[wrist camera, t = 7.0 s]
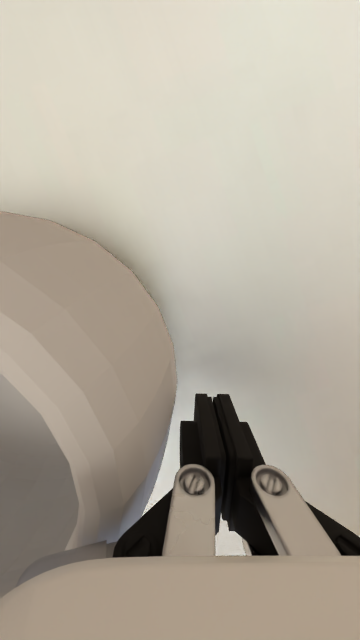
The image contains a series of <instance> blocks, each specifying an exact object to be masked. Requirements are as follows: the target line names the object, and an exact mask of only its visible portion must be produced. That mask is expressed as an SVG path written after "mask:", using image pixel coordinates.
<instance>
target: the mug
mask: <svg viewBox="0 0 360 640" xmlns="http://www.w3.org/2000/svg"><path fill="white" fill-rule="evenodd" d="M176 389H177V374H176V365H175V355H174V346H173V343H172V340H171V338H170V335H169V333H168V330H167V328H166V325H165V323H164V320H163V318H162V315H161V313H160V310H159V308H158V306H157V305H156V303H155V302H154V301H153V299H152V298H151V296H150V295H149V294H148V292H147V291H146V290H145V288H144V287H143V286H142V284H141V283H140V281H139V280H138V279H137V277H136V276H135V275H134V273H133V272H132V271H131V270H130V269H129V268H127V267H126V266H125V265H124V264H122V263H121V262H120V261H119V260H118V259H116V258H115V257H114V256H113V255H111V254H110V253H109V252H108V251H106V250H105V249H104V248H103V247H101V246H100V245H99V244H98V243H97V242H95V241H93V240H91V239H89V238H87V237H85V236H83V235H80V234H78V233H76V232H74V231H72V230H70V229H68V228H65V227H63V226H61V225H59V224H57V223H55V222H53V221H50V220H45V219H40V218H34V217H29V216H24V215H18V214H13V213H7V212H2V211H0V598H2V597H3V596H4V595H6V594H7V593H8V592H10V591H11V590H13V589H14V588H15V587H16V585H17V582H18V580H19V578H20V576H21V575H22V574H23V572H24V571H25V570H26V568H27V567H28V566H29V565H31V564H32V563H33V562H34V561H35V560H37V559H39V558H42V557H44V556H47V555H51V554H54V553H58V552H62V551H66V550H70V549H74V548H78V547H82V546H85V545H89V544H93V543H97V542H101V541H105V540H107V544H108V543H112V542H116V541H118V539H119V538H120V537H121V536H122V535H123V534H124V533H125V532H126V531H127V530H128V529H129V528H130V527H131V526H132V525H133V524H134V523H136V522H137V521H138V520H139V519H140V518H141V516H142V514H143V512H144V509H145V507H146V505H147V503H148V500H149V498H150V496H151V493H152V491H153V488H154V485H155V482H156V480H157V477H158V473H159V470H160V467H161V463H162V459H163V455H164V452H165V448H166V444H167V440H168V435H169V430H170V424H171V419H172V414H173V409H174V404H175V397H176Z"/></svg>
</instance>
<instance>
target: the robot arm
mask: <svg viewBox="0 0 360 640" xmlns="http://www.w3.org/2000/svg"><path fill="white" fill-rule="evenodd" d="M221 514H222V519H223V520H227V522H228V527H229V531H235V532H236V533H238V534H239V535H240V536H241V537H242V543H243V547H244V550H245V553H246V556H215V536H216V534H217V533H218V532H219V523H220V515H221ZM0 640H360V538H359V537H358V536H357V535H356V534H354V533H353V532H351V531H350V530H348V529H347V528H345V527H344V526H342V525H341V524H339V523H337V522H336V521H334V520H333V519H331V518H330V517H328V516H327V515H325V514H324V513H322V512H321V511H319V510H318V509H316V508H315V507H313V506H312V505H310V504H309V503H307V502H306V501H304V499H303V498H302V496H301V495H300V493H299V492H298V490H297V489H296V487H295V486H294V485H293V483H292V482H291V480H290V479H289V477H288V476H287V475H286V474H285V473H284V472H282V471H281V470H280V469H278V468H276V467H274V466H270V465H266V464H265V462H264V460H263V457H262V455H261V453H260V450H259V448H258V446H257V443H256V441H255V439H254V436H253V434H252V432H251V429H250V427H249V425H248V423H247V422H239V419H238V417H237V414H236V411H235V409H234V406H233V404H232V401H231V398H230V396H229V394H217V397H213V402H212V399H211V397H207V394H196V395H195V410H194V421H181V424H180V469H179V471H178V472H177V473H176V476H175V480H174V486H173V489H172V490H171V491H169V492H168V493H167V494H166V495H165V496H164V497H163V498H162V499H161V500H160V501H159V502H157V503H156V504H155V505H154V506H153V507H152V508H151V509H150V510H149V511H148V512H146V513H145V514H144V515H143V516H142V517H141V518H140V519H139V520H138V521H137V522H136V523H134V524H133V525H132V526H131V527H130V528H129V529H128V530H127V531H126V532H125V533H124V534H123V535H122V536H121V537H120V538H119V539H118V541H116V542H112V543H108V544H107V540H105V541H101V542H97V543H93V544H89V545H85V546H82V547H78V548H74V549H70V550H66V551H62V552H58V553H54V554H51V555H47V556H44V557H42V558H39V559H37V560H35V561H34V562H33V563H32V564H31V565H29V566H28V567H27V568H26V570H25V571H24V572H23V574H22V575H21V576H20V578H19V580H18V582H17V585H16V587H15V588H14V589H13V590H11V591H10V592H8V593H7V594H6V595H4V596H3V597H2V598H0Z"/></svg>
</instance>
